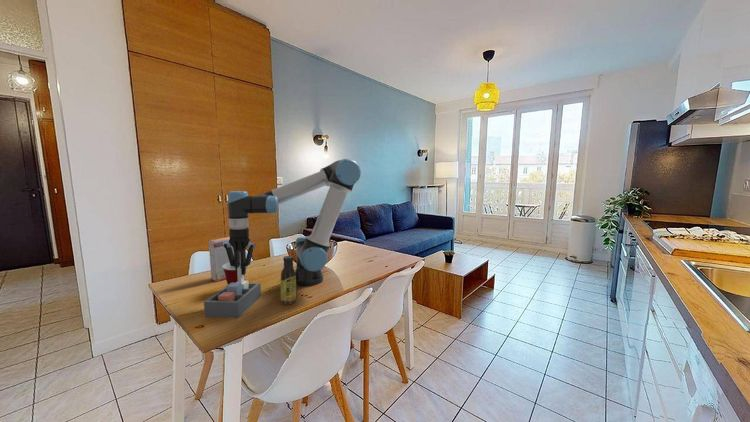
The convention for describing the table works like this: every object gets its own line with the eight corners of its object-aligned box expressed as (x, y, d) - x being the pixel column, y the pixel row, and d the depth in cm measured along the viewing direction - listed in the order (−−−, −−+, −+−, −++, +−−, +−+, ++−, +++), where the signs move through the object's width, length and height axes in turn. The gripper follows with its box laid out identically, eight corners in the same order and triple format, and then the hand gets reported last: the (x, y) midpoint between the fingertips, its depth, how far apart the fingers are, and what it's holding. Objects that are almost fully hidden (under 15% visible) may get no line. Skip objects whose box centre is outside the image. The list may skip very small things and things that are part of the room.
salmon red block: (235, 304, 114) (234, 292, 113) (229, 308, 110) (228, 296, 109) (224, 303, 114) (223, 291, 113) (218, 308, 110) (218, 296, 109)
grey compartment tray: (260, 295, 128) (260, 282, 127) (238, 317, 108) (238, 302, 107) (231, 295, 128) (231, 282, 127) (204, 317, 108) (203, 301, 107)
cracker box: (237, 272, 158) (235, 235, 156) (242, 274, 155) (241, 236, 153) (210, 279, 147) (208, 239, 145) (216, 282, 144) (213, 241, 141)
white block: (248, 291, 126) (248, 280, 125) (244, 295, 122) (243, 284, 121) (239, 291, 126) (238, 280, 125) (234, 295, 122) (234, 284, 121)
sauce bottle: (287, 307, 117) (286, 260, 115) (277, 303, 121) (276, 257, 118) (299, 301, 123) (298, 256, 120) (289, 297, 126) (288, 254, 124)
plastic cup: (238, 294, 129) (237, 269, 127) (218, 292, 131) (216, 267, 129) (253, 286, 139) (252, 262, 138) (234, 284, 141) (233, 260, 140)
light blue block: (242, 294, 120) (241, 282, 119) (237, 298, 115) (236, 286, 115) (232, 294, 120) (231, 282, 119) (226, 298, 115) (226, 286, 115)
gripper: (218, 229, 117) (221, 284, 119) (250, 229, 117) (252, 285, 119) (228, 226, 124) (230, 278, 127) (258, 226, 124) (259, 279, 127)
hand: (241, 281), depth 123 cm, fingers closed
